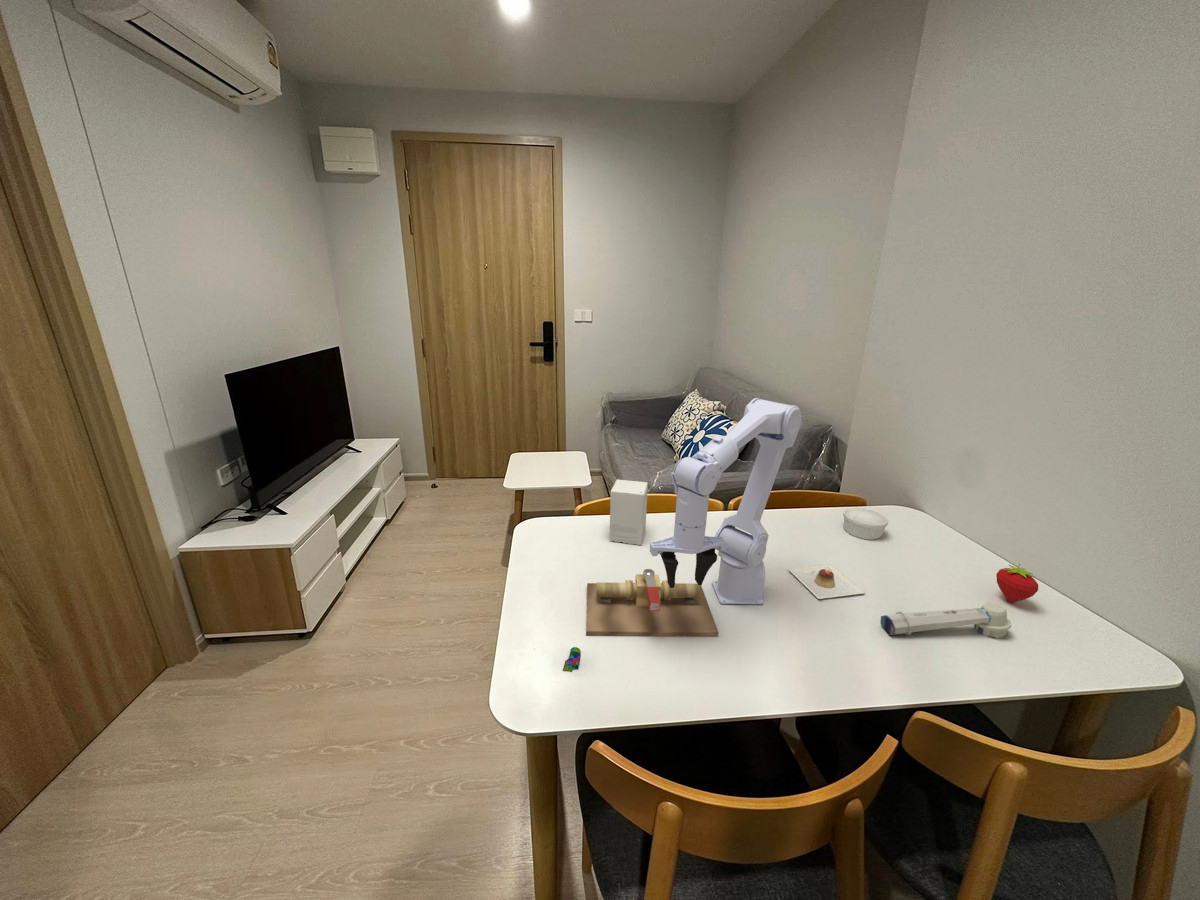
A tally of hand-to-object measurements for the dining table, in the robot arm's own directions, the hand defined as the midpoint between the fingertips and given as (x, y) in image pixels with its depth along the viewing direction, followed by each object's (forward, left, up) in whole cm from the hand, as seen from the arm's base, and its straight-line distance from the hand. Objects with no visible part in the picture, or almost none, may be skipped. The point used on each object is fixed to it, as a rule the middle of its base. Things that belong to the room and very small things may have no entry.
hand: (684, 583), depth 92 cm
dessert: (-37, -16, -11) cm, 42 cm away
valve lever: (+6, -3, -4) cm, 8 cm away
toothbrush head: (-54, 0, -11) cm, 55 cm away
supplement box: (+8, -38, -11) cm, 40 cm away
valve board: (+6, -6, -10) cm, 13 cm away
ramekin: (-60, -42, -11) cm, 74 cm away
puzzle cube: (+21, +9, -11) cm, 26 cm away
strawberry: (-76, -10, -11) cm, 77 cm away
